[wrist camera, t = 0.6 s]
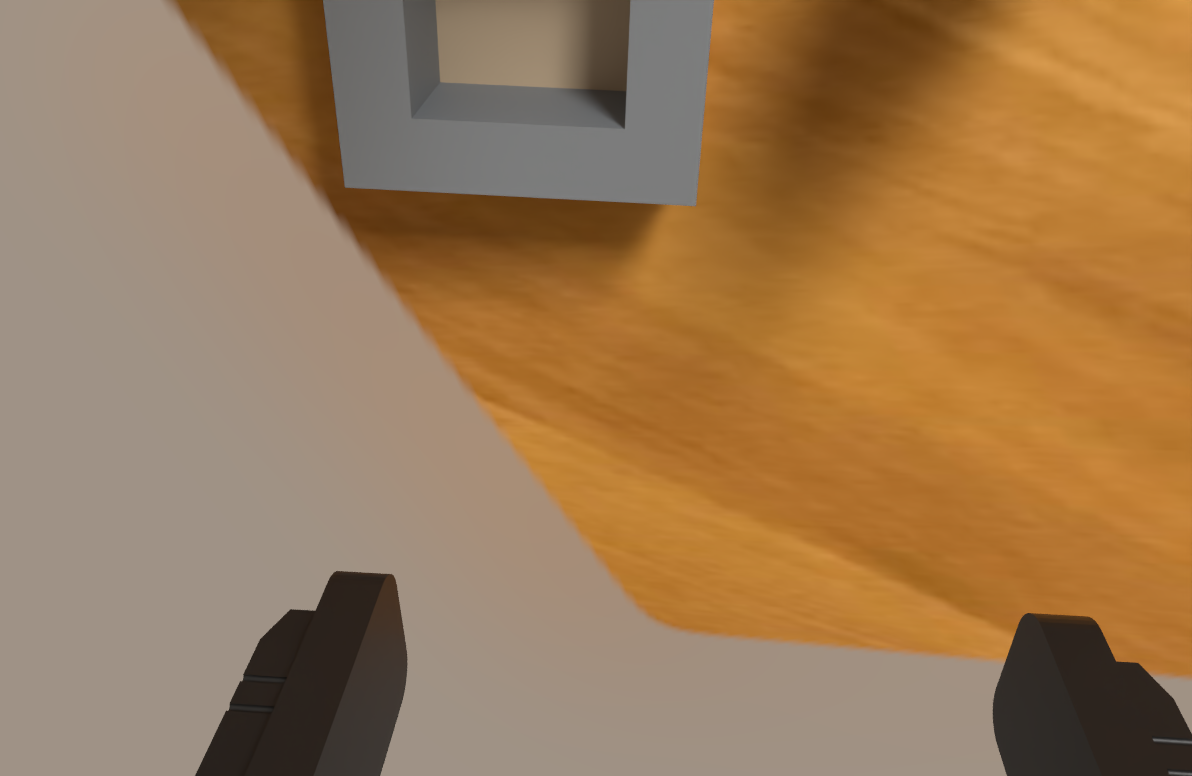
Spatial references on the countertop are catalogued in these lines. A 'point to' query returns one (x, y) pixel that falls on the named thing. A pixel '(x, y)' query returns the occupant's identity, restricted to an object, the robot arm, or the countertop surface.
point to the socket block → (522, 96)
